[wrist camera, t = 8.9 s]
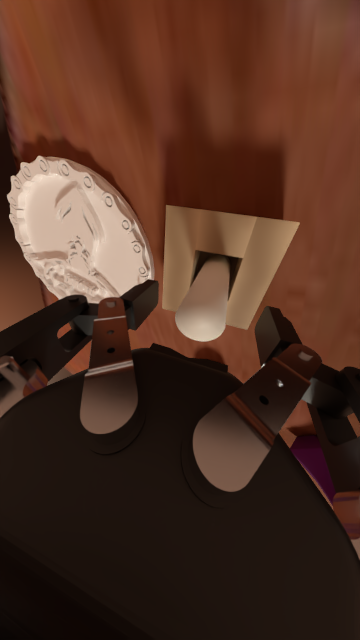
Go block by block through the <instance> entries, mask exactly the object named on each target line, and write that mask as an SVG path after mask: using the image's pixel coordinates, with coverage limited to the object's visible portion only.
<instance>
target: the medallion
mask: <svg viewBox="0 0 360 640" xmlns="http://www.w3.org/2000/svg"><path fill="white" fill-rule="evenodd" d="M20 167H21V170H20V171H19V173H18V174H17V175H16V176H11V184H12V189H11V192H10V193H9V194H8V195H7V198H8V201H9V203H10V204H11V205H10V208H11V211H10V212H11V213H12V214H10V215H9V218H10V220H11V222H12V224H13V227H14V230H15V238H16V240H17V242H18V243H19V244H21V245H20V246H21V248H22V250H23V252H26V253H24V257H25V259H26V260H27V261H28V262H29V263H30V265H31V266H32V268H33V269H34V271H35V274H36V276H37V277H39V278H40V279H41V280H42V281H43V282H44V284H45V285H46V286H47V289H48V290H49V291H50V292H52V293H53V294H55V295H56V296H57V297H58V298H59V300H60V299H62V298H64V297H66V296H70V295H84V296H86V297H87V300H88V303H99V302H100V301H101V300H102V299H105V298H108V297H118V298H119V297H120V296H121V295H123V294H124V293H126V292H127V291H128V290H130V289H131V288H132V287H134V286H135V285H138V284H142V283H144V282H145V281H146V280H147V279H150V280H154V265H153V257H152V253H151V249H150V246H149V242H148V239H147V237H146V235H145V232H144V230H143V228H142V225H141V223H140V222H139V220H138V218H137V217H136V215H135V213H134V212H133V210H132V208H131V207H130V205H129V204H128V203H127V202H126V200H125V199H124V198H123V197H122V195H121V194H120V193H119V192H118V191H117V190H116V189H115V188H114V187H113V186H112V185H111V184H110V183H109V182H108V181H107V180H106V179H105V178H103V177H102V176H100V175H99V174H97V173H96V172H94V171H93V170H91V169H90V168H88V167H86V166H84V165H81V164H79V163H76V162H74V161H71V160H68V159H65V158H58V157H51V156H50V157H42V156H38V157H37V158H36V160H34V161H33V162H31V163H30V164H29V163H25V162H21V165H20ZM42 278H43V279H42Z"/></svg>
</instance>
